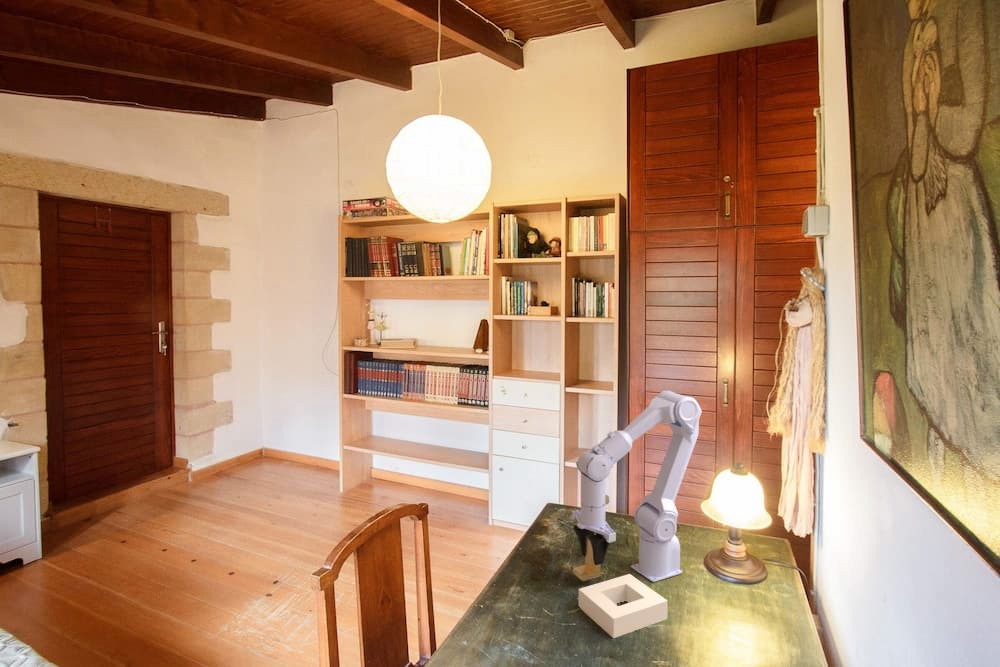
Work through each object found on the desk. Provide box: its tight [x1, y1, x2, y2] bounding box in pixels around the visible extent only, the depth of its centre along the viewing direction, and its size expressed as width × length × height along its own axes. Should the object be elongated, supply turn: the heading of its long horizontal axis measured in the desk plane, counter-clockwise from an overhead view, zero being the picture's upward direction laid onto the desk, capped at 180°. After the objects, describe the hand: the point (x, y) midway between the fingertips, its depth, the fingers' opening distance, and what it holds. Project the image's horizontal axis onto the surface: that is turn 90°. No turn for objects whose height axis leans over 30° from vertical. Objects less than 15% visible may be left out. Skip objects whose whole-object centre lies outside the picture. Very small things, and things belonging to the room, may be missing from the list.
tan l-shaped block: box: [572, 535, 602, 582], centre depth 125 cm, size 5×4×8 cm
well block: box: [578, 573, 669, 639], centre depth 114 cm, size 14×12×4 cm
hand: (592, 559), depth 126 cm, fingers closed on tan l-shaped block, 4 cm apart
